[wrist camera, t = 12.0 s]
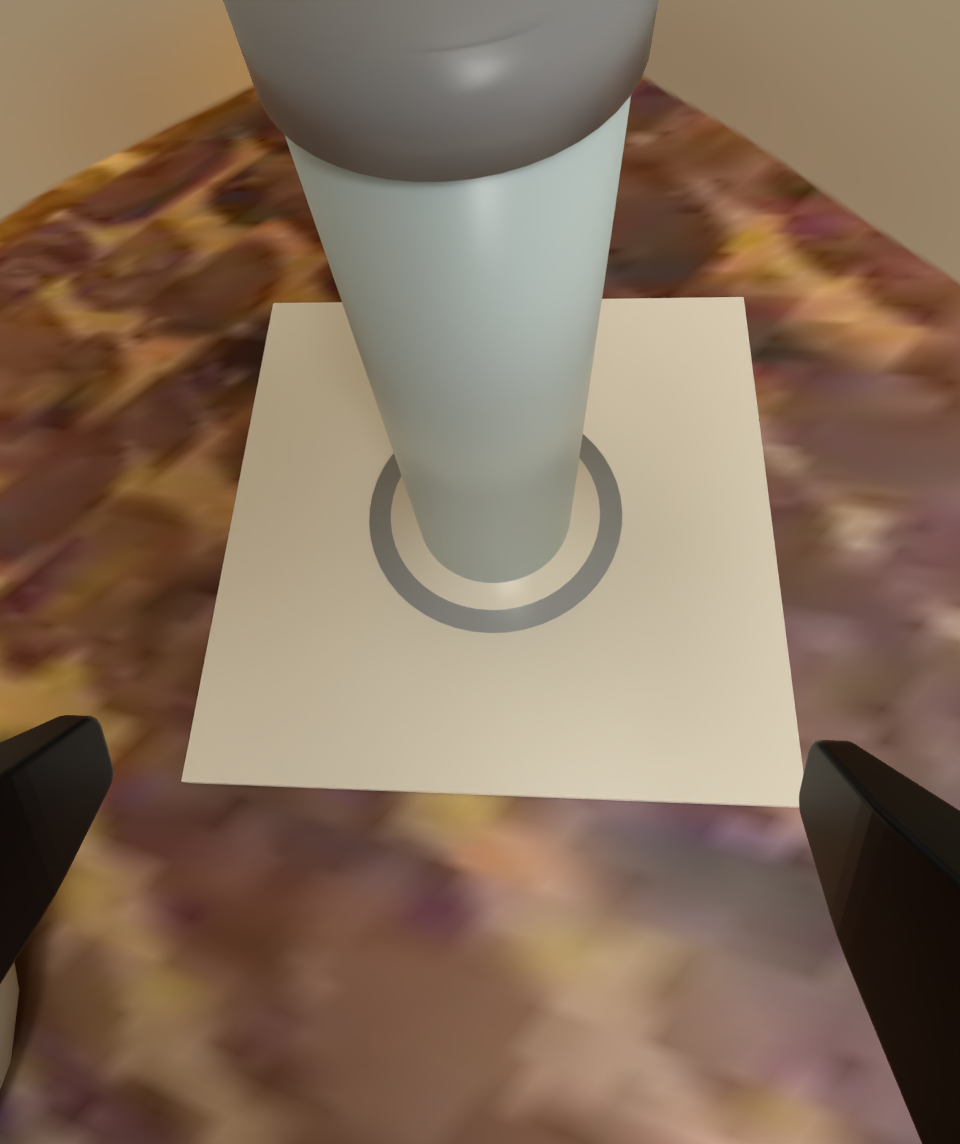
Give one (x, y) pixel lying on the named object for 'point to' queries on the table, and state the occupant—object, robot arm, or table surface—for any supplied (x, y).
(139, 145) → the table surface
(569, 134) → the tube
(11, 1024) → the donut
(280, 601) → the card
